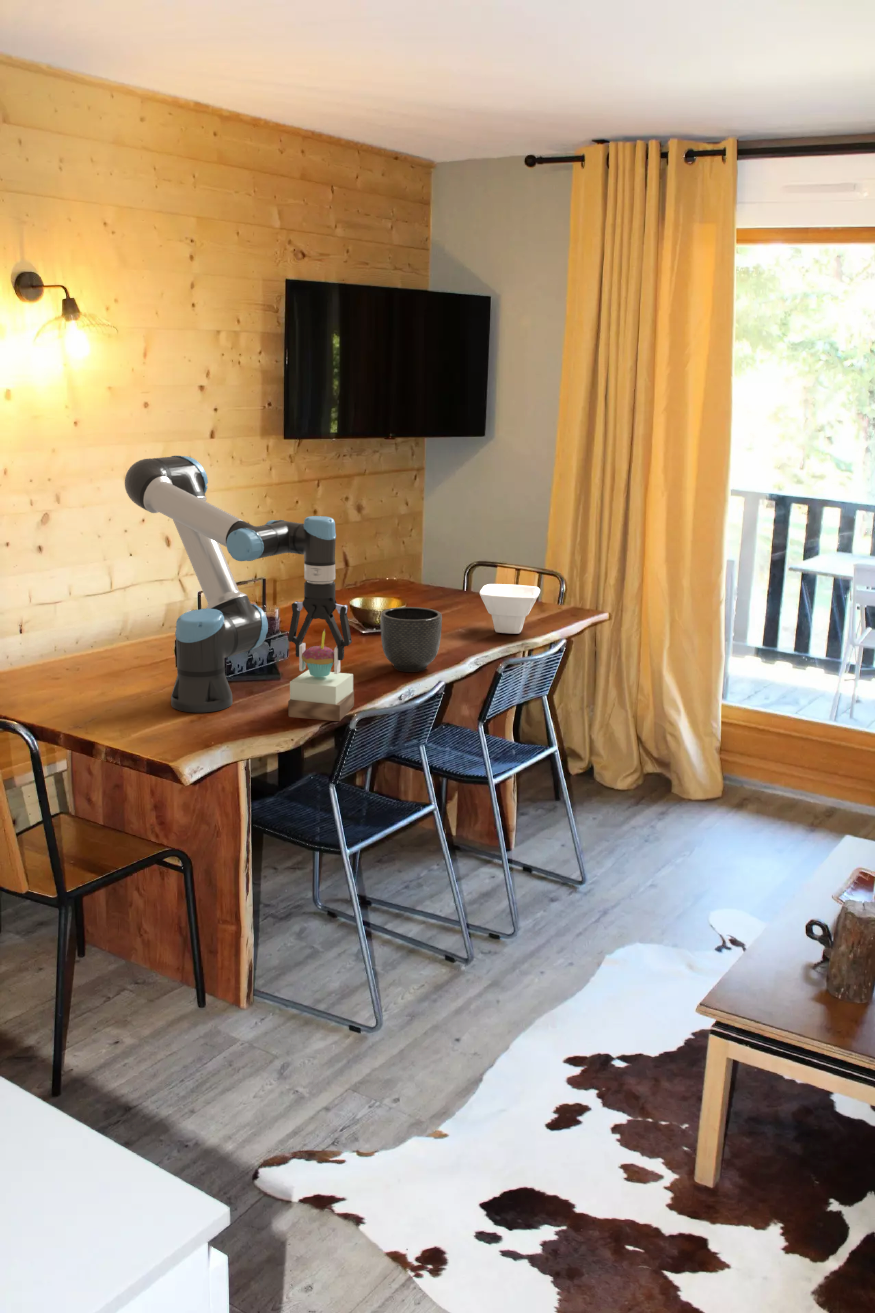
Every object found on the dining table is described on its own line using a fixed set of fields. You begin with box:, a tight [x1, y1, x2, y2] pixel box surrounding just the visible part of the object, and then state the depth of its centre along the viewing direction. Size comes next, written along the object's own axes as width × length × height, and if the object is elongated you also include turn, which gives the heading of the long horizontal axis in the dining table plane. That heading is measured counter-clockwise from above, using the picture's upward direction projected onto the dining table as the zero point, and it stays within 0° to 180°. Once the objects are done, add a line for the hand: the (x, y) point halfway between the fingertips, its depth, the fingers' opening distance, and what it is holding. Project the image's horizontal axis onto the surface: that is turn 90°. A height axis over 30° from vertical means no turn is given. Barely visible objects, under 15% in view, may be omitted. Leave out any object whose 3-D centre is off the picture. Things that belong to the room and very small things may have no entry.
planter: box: [380, 606, 443, 673], centre depth 327 cm, size 17×17×16 cm
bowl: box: [479, 583, 541, 635], centre depth 372 cm, size 19×19×14 cm
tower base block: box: [288, 690, 355, 722], centre depth 288 cm, size 13×13×4 cm
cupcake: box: [302, 628, 334, 677], centre depth 285 cm, size 9×8×12 cm
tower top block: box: [289, 669, 354, 705], centre depth 287 cm, size 12×12×4 cm
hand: (319, 671), depth 286 cm, fingers closed on cupcake, 8 cm apart
